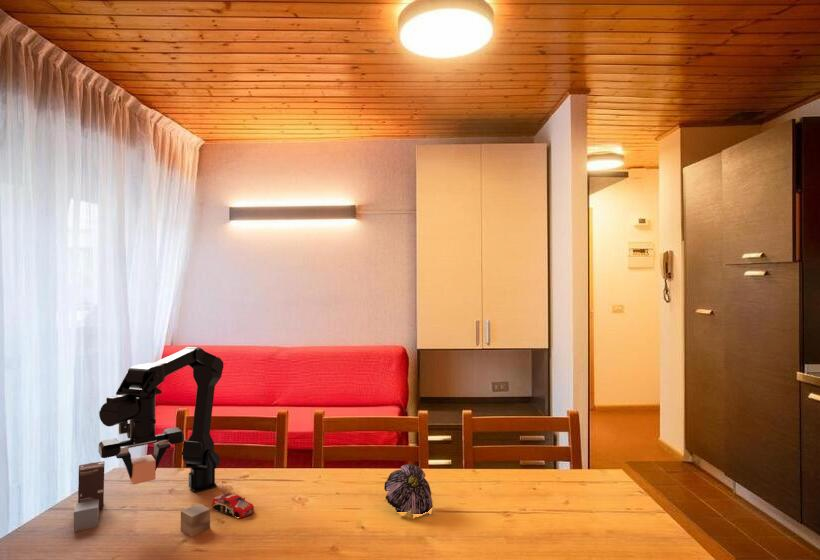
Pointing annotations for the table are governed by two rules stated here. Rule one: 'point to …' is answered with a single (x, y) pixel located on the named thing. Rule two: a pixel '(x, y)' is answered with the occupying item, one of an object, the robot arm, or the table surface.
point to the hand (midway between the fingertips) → (142, 474)
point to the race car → (232, 505)
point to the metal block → (195, 519)
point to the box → (91, 483)
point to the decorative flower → (409, 490)
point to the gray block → (86, 515)
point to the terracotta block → (143, 469)
